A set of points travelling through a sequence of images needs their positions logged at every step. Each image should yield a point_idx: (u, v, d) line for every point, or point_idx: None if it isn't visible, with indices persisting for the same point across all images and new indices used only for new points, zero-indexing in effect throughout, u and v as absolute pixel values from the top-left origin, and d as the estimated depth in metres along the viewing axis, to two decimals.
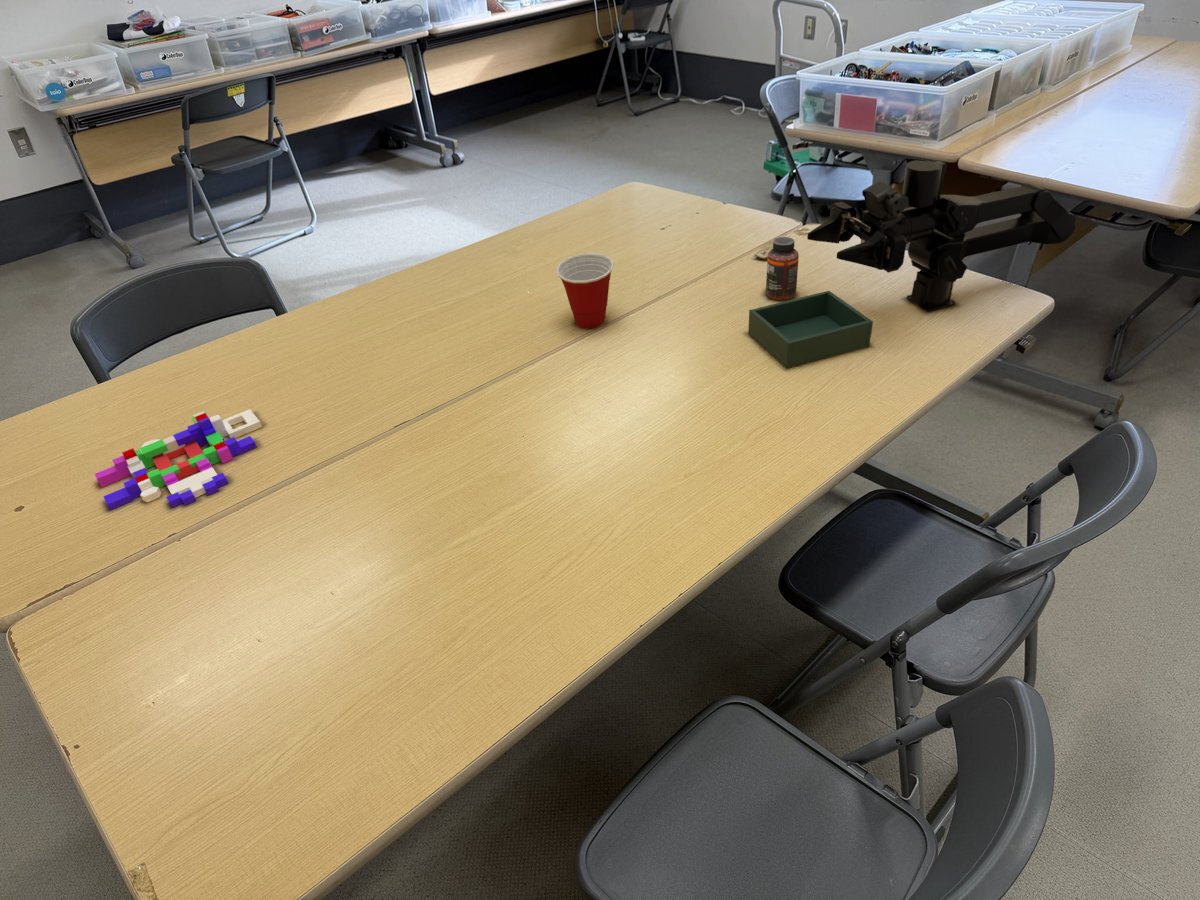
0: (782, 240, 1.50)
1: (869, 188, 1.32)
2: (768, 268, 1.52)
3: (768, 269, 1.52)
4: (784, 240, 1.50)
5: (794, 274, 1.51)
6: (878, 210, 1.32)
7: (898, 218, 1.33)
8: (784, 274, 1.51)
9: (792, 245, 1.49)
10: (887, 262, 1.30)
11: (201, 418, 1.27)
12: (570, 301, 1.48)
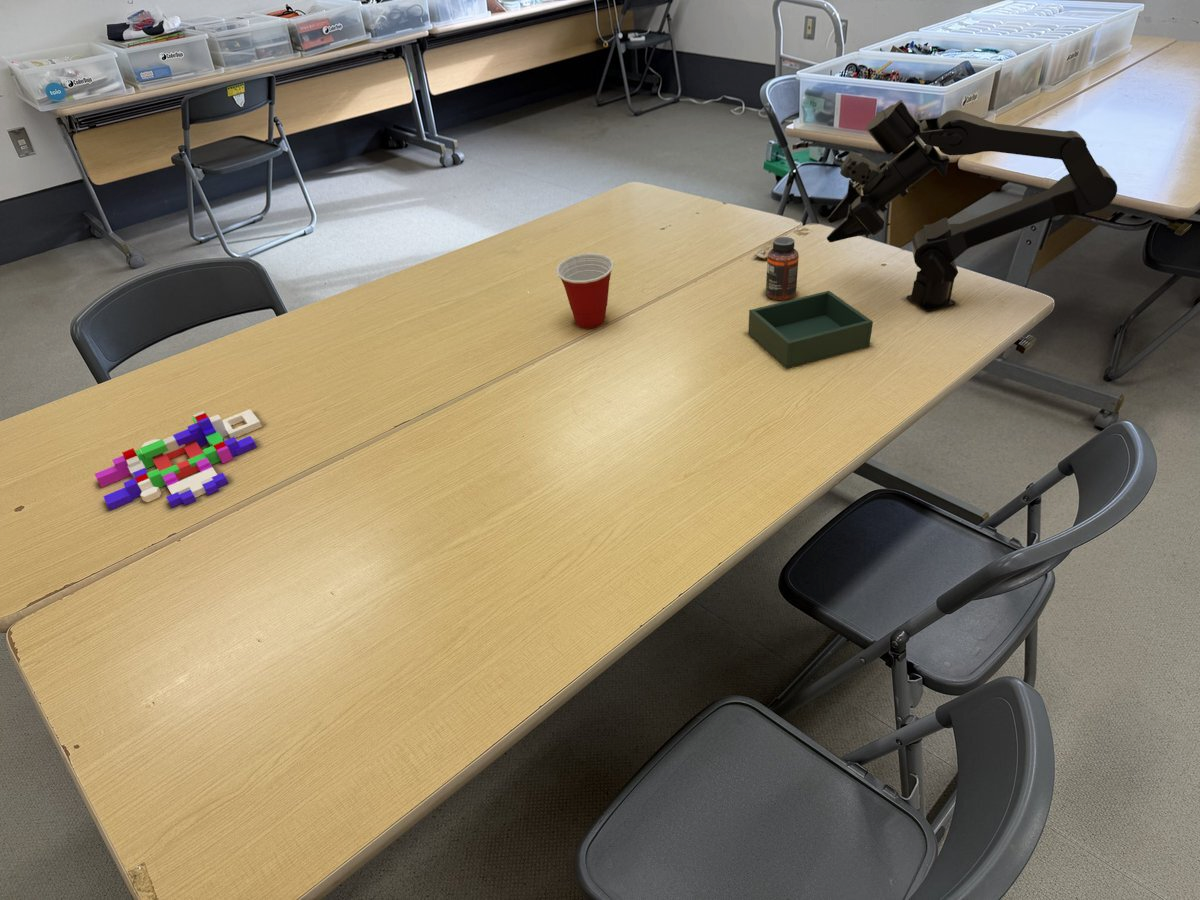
0: (782, 240, 1.50)
1: (842, 164, 1.39)
2: (768, 268, 1.52)
3: (768, 269, 1.52)
4: (784, 240, 1.50)
5: (794, 274, 1.51)
6: None
7: (878, 175, 1.35)
8: (784, 274, 1.51)
9: (792, 245, 1.49)
10: None
11: (201, 418, 1.27)
12: (570, 301, 1.48)
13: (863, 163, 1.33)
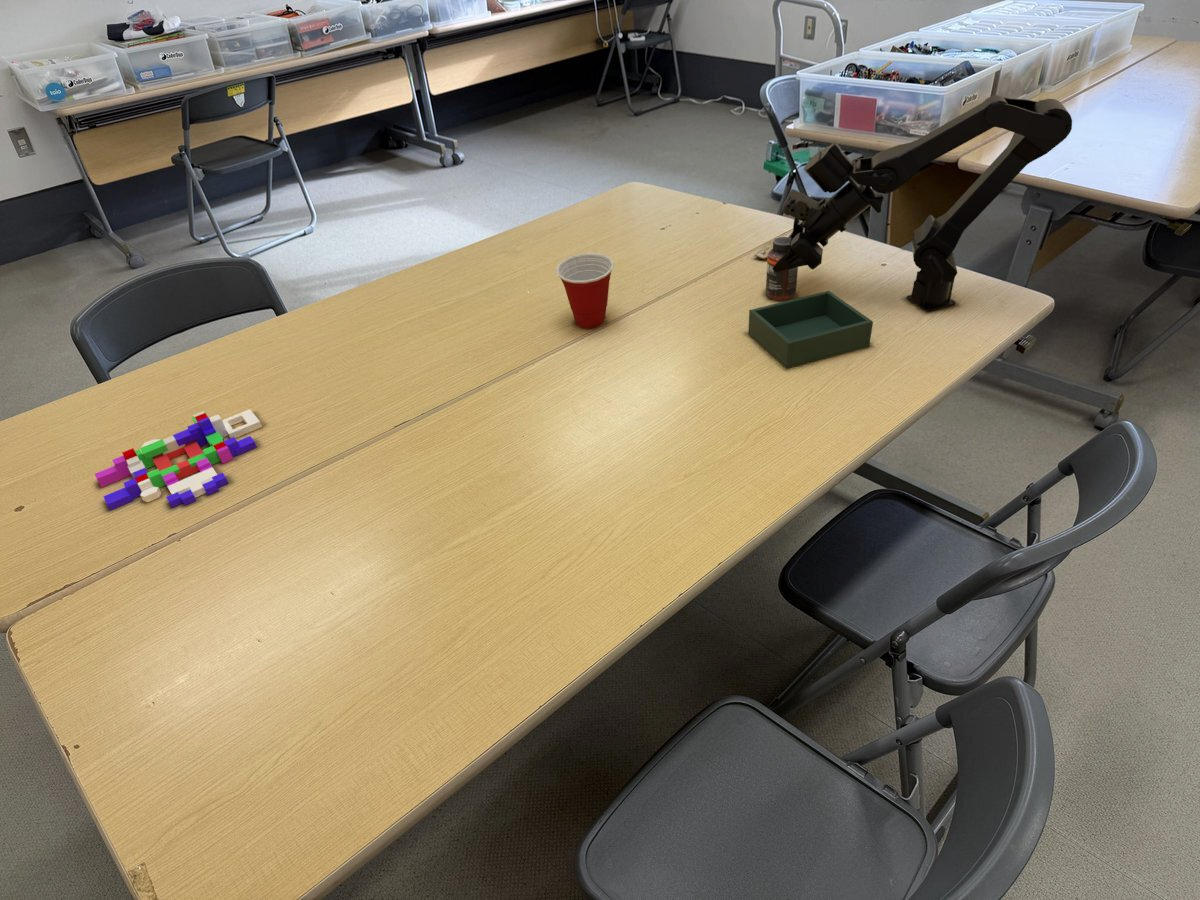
0: (782, 240, 1.50)
1: None
2: (768, 268, 1.52)
3: (768, 269, 1.52)
4: (784, 240, 1.50)
5: (794, 274, 1.51)
6: None
7: (817, 213, 1.42)
8: (784, 274, 1.51)
9: None
10: None
11: (201, 418, 1.27)
12: (570, 301, 1.48)
13: (801, 202, 1.40)
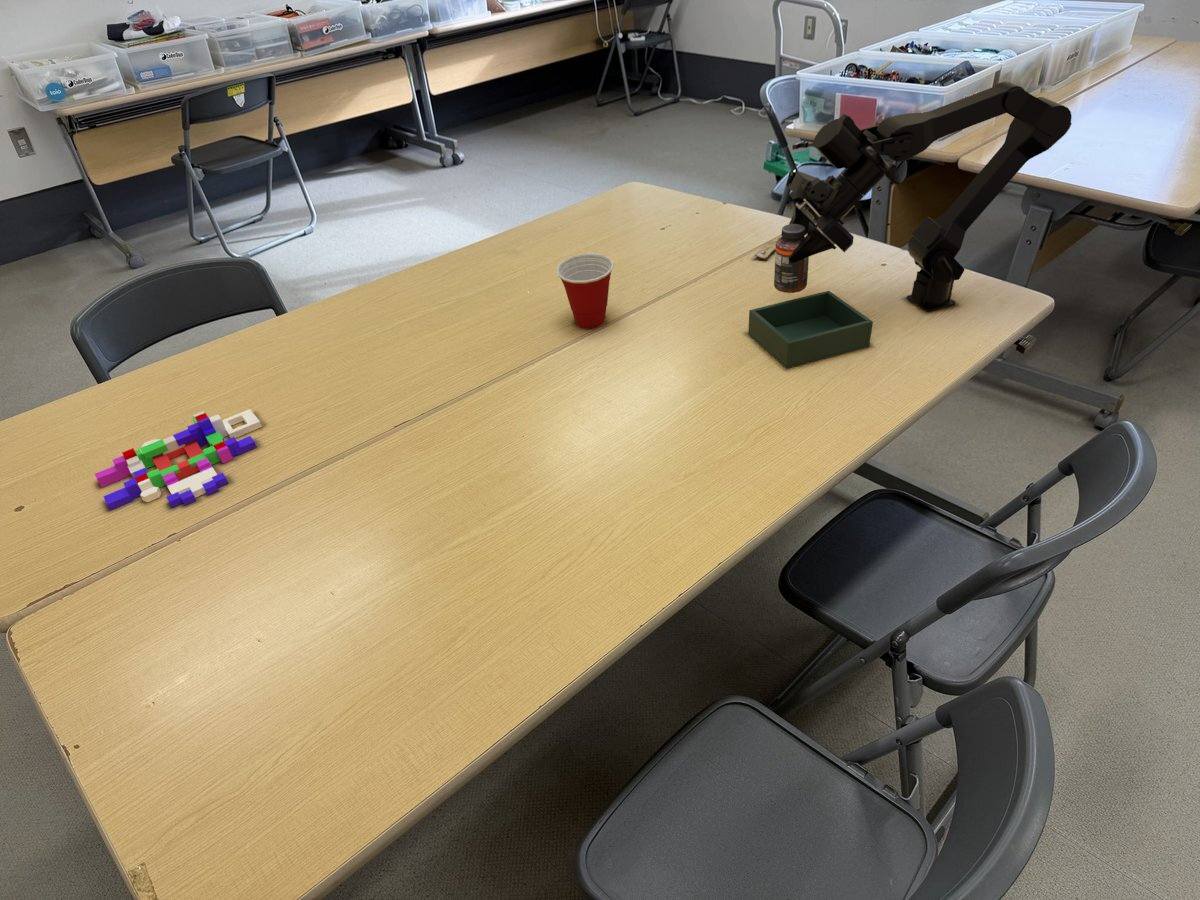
0: (791, 228, 1.37)
1: (791, 185, 1.34)
2: (780, 260, 1.39)
3: (780, 261, 1.39)
4: (793, 227, 1.37)
5: (807, 262, 1.40)
6: None
7: (833, 192, 1.32)
8: (800, 264, 1.38)
9: (804, 231, 1.37)
10: None
11: (201, 418, 1.27)
12: (570, 301, 1.48)
13: (821, 182, 1.29)
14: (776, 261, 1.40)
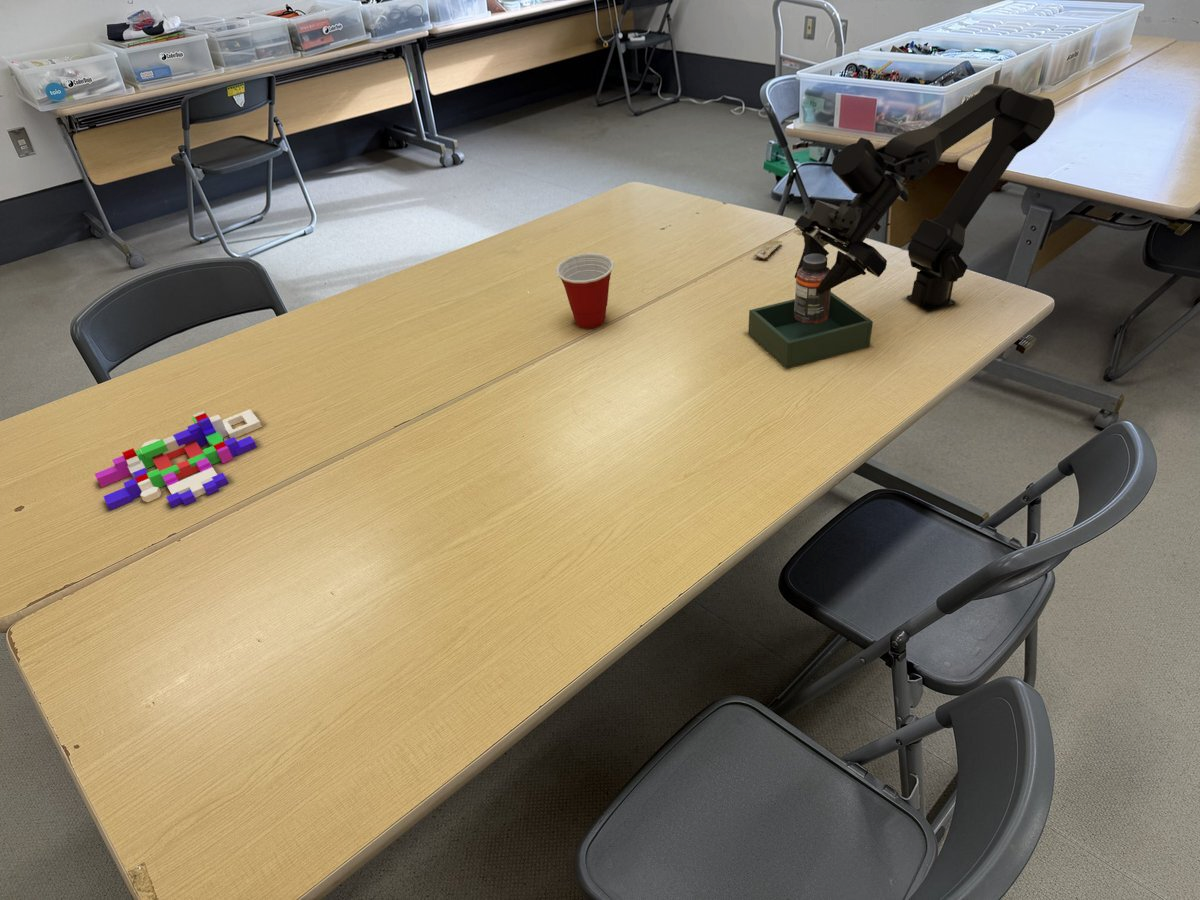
0: (814, 258, 1.32)
1: (812, 215, 1.28)
2: (806, 293, 1.33)
3: (806, 294, 1.33)
4: (814, 257, 1.32)
5: (830, 291, 1.35)
6: None
7: (857, 217, 1.28)
8: (826, 293, 1.33)
9: None
10: (866, 266, 1.29)
11: (201, 418, 1.27)
12: (570, 301, 1.48)
13: (851, 209, 1.24)
14: (800, 294, 1.34)
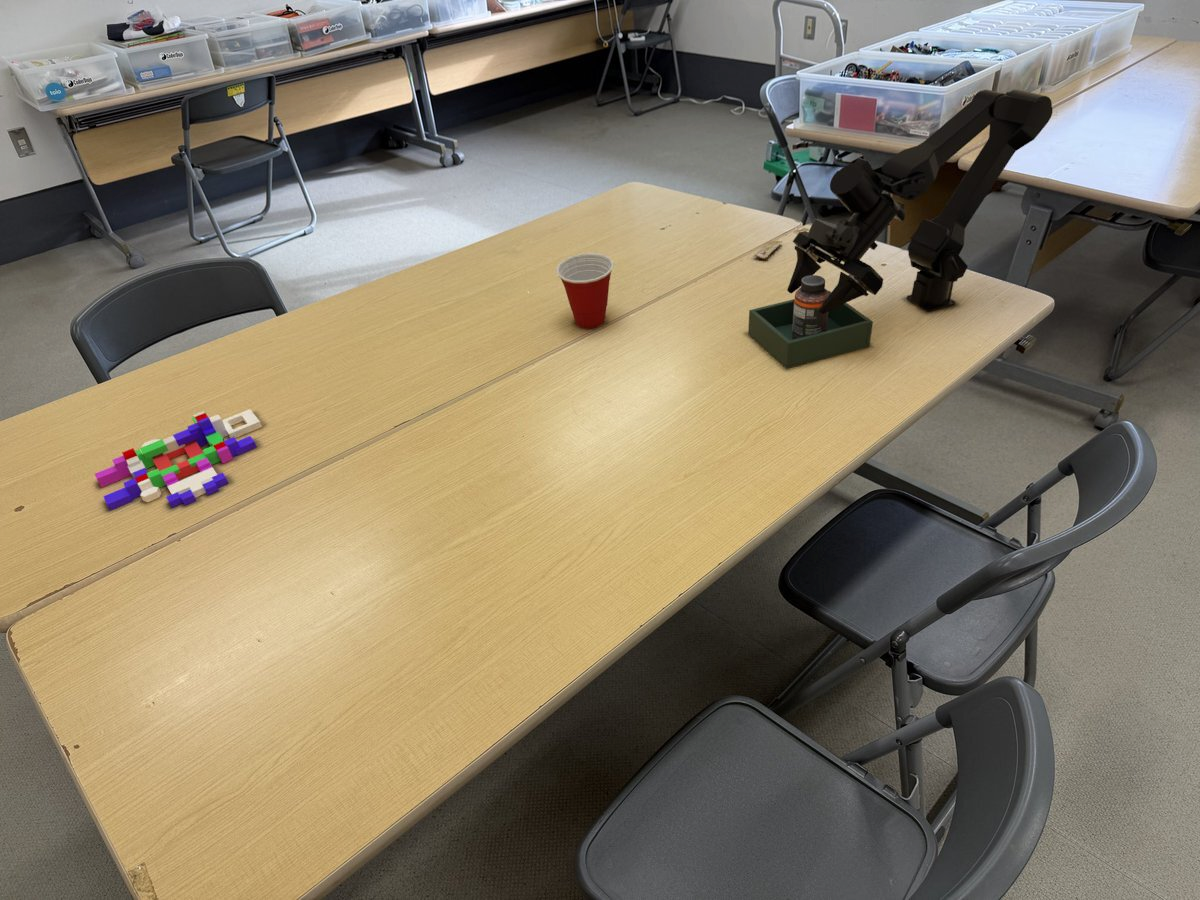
0: (812, 280, 1.34)
1: (810, 233, 1.30)
2: (804, 313, 1.36)
3: (804, 314, 1.36)
4: (813, 279, 1.35)
5: None
6: None
7: (854, 236, 1.30)
8: (823, 314, 1.36)
9: None
10: (868, 287, 1.30)
11: (201, 418, 1.27)
12: (570, 301, 1.48)
13: (848, 228, 1.26)
14: (798, 314, 1.37)
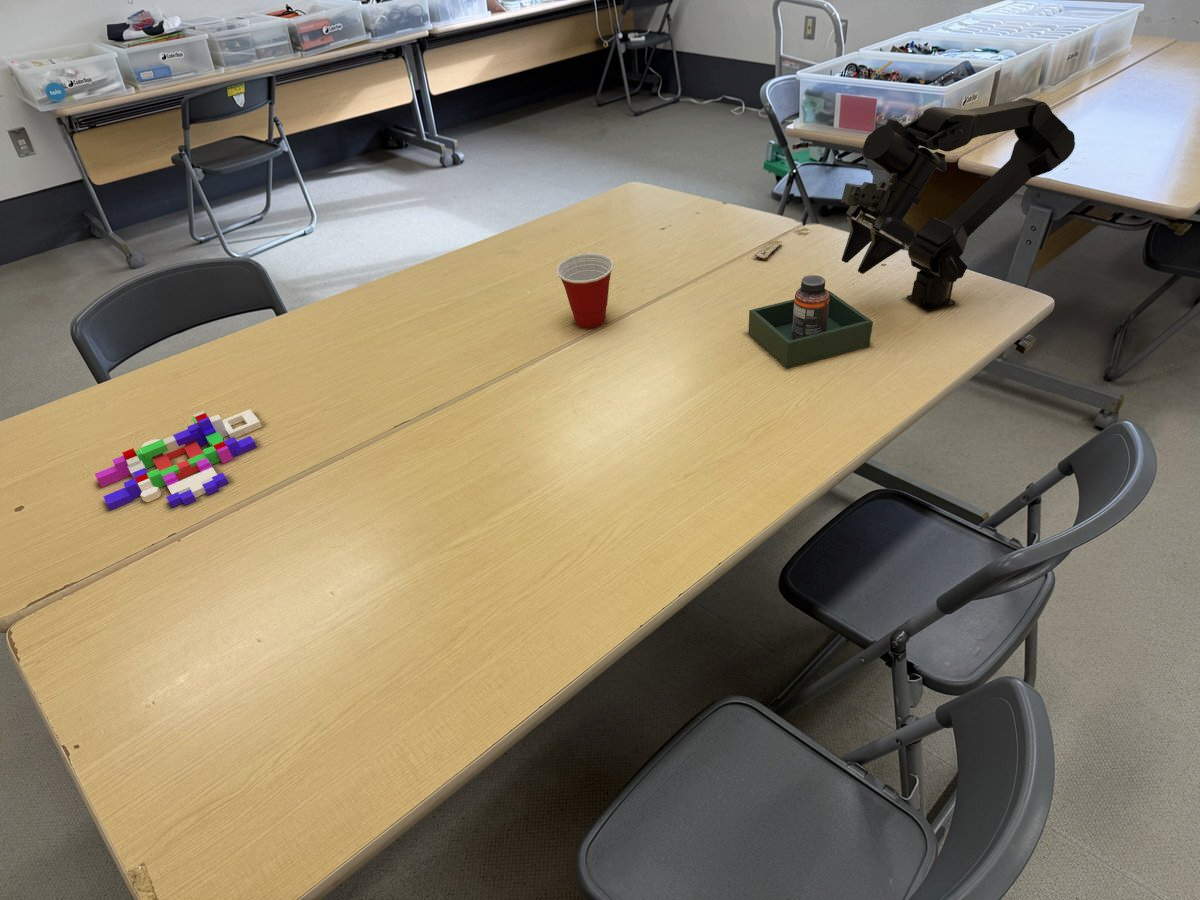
0: (812, 280, 1.34)
1: (842, 197, 1.34)
2: (804, 313, 1.36)
3: (804, 314, 1.36)
4: (813, 279, 1.35)
5: None
6: None
7: (886, 192, 1.30)
8: (823, 314, 1.36)
9: None
10: None
11: (201, 418, 1.27)
12: (570, 301, 1.48)
13: (869, 184, 1.28)
14: (798, 314, 1.37)
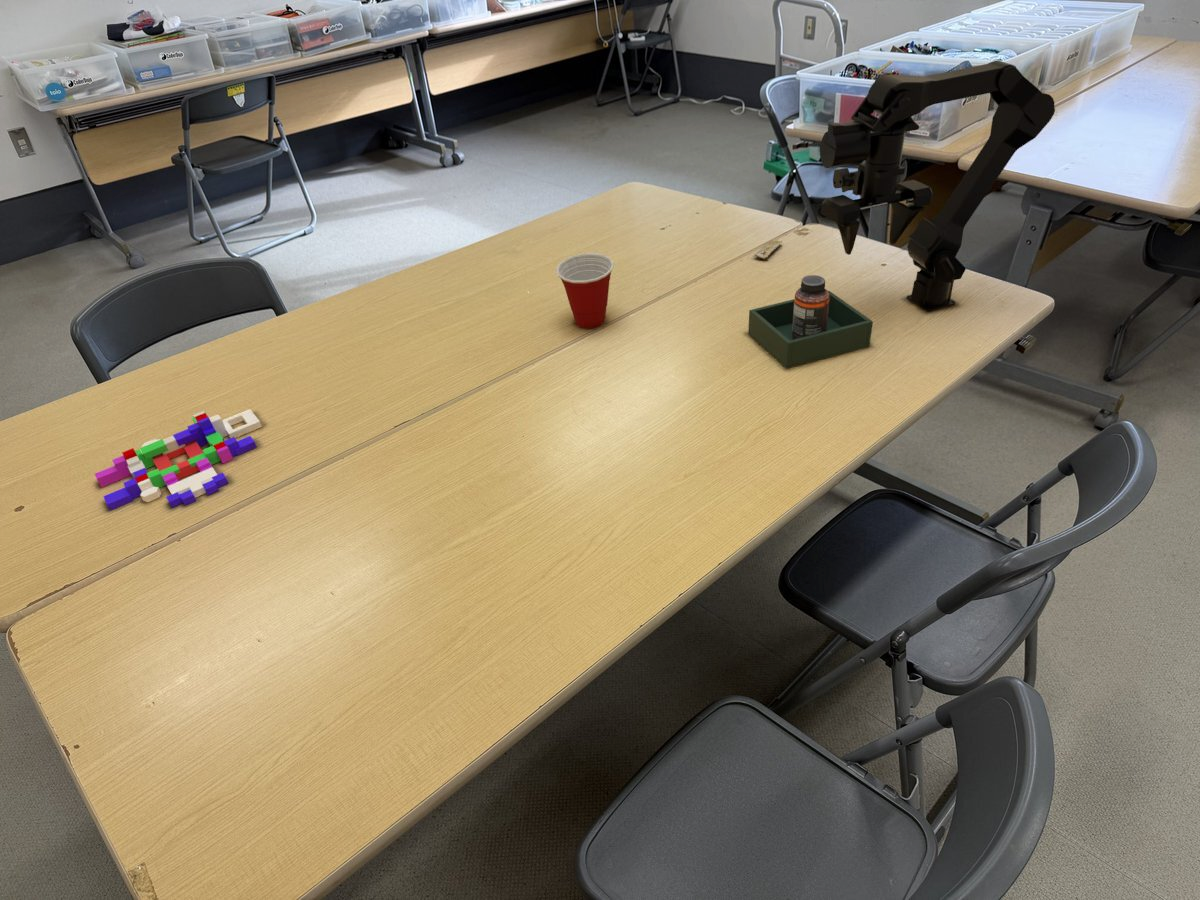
0: (812, 280, 1.34)
1: None
2: (804, 313, 1.36)
3: (804, 314, 1.36)
4: (813, 279, 1.35)
5: None
6: None
7: (857, 174, 1.34)
8: (823, 314, 1.36)
9: None
10: None
11: (201, 418, 1.27)
12: (570, 301, 1.48)
13: (835, 170, 1.37)
14: (798, 314, 1.37)
